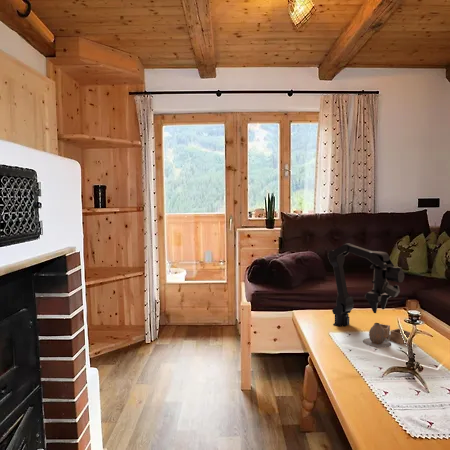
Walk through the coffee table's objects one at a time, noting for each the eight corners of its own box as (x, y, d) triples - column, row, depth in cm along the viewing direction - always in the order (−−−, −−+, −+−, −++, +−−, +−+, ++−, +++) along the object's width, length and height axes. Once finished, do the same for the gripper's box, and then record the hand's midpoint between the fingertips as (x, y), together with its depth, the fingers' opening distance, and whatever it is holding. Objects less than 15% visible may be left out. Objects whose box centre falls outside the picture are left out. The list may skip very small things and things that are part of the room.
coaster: (358, 344, 173) (358, 342, 172) (369, 337, 181) (369, 336, 181) (385, 351, 164) (385, 349, 164) (395, 343, 173) (395, 342, 173)
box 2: (390, 341, 176) (390, 330, 175) (398, 339, 179) (398, 328, 178) (402, 345, 170) (402, 334, 170) (410, 343, 174) (410, 332, 173)
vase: (386, 345, 169) (387, 326, 168) (370, 344, 170) (370, 325, 170) (383, 340, 176) (383, 321, 175) (367, 339, 177) (368, 320, 176)
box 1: (373, 337, 181) (374, 326, 181) (376, 333, 186) (376, 323, 186) (387, 339, 178) (387, 329, 178) (389, 335, 183) (389, 325, 183)
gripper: (389, 284, 169) (388, 319, 170) (405, 278, 182) (404, 310, 183) (364, 280, 176) (363, 313, 178) (381, 275, 190) (380, 305, 191)
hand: (379, 311), depth 182 cm, fingers open, 9 cm apart
